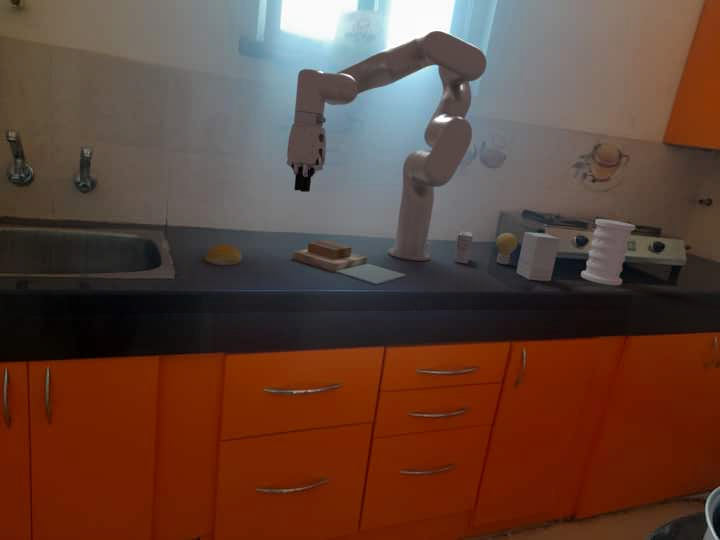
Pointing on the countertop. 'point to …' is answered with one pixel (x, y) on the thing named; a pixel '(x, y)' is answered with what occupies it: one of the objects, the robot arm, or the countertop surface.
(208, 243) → the countertop surface
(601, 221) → the decorative container
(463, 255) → the medicine box
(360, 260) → the ash deck
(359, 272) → the teal mat
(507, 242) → the light bulb
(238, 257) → the bread roll
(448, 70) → the robot arm
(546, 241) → the supplement box
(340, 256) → the walnut tile
